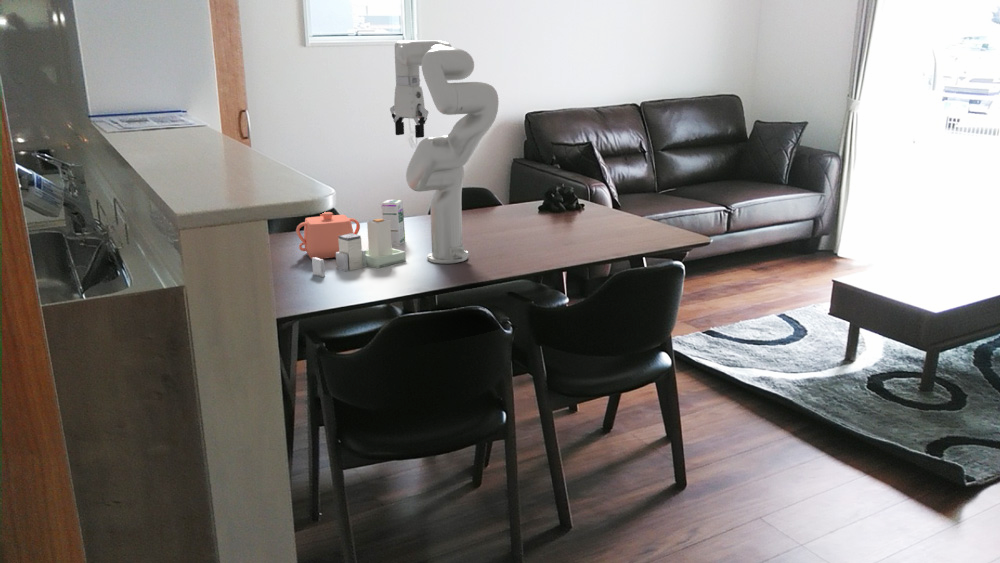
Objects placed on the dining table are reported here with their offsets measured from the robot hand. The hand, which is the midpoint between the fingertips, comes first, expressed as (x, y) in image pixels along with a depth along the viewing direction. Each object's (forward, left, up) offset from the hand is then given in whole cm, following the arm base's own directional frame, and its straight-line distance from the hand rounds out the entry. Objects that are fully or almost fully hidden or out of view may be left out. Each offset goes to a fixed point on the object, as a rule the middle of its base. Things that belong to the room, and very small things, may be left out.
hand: (409, 136), depth 257 cm
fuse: (-10, +22, -35) cm, 42 cm away
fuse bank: (-9, +36, -36) cm, 51 cm away
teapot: (+11, +27, -36) cm, 46 cm away
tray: (-10, +22, -36) cm, 43 cm away
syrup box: (+5, +5, -36) cm, 37 cm away
